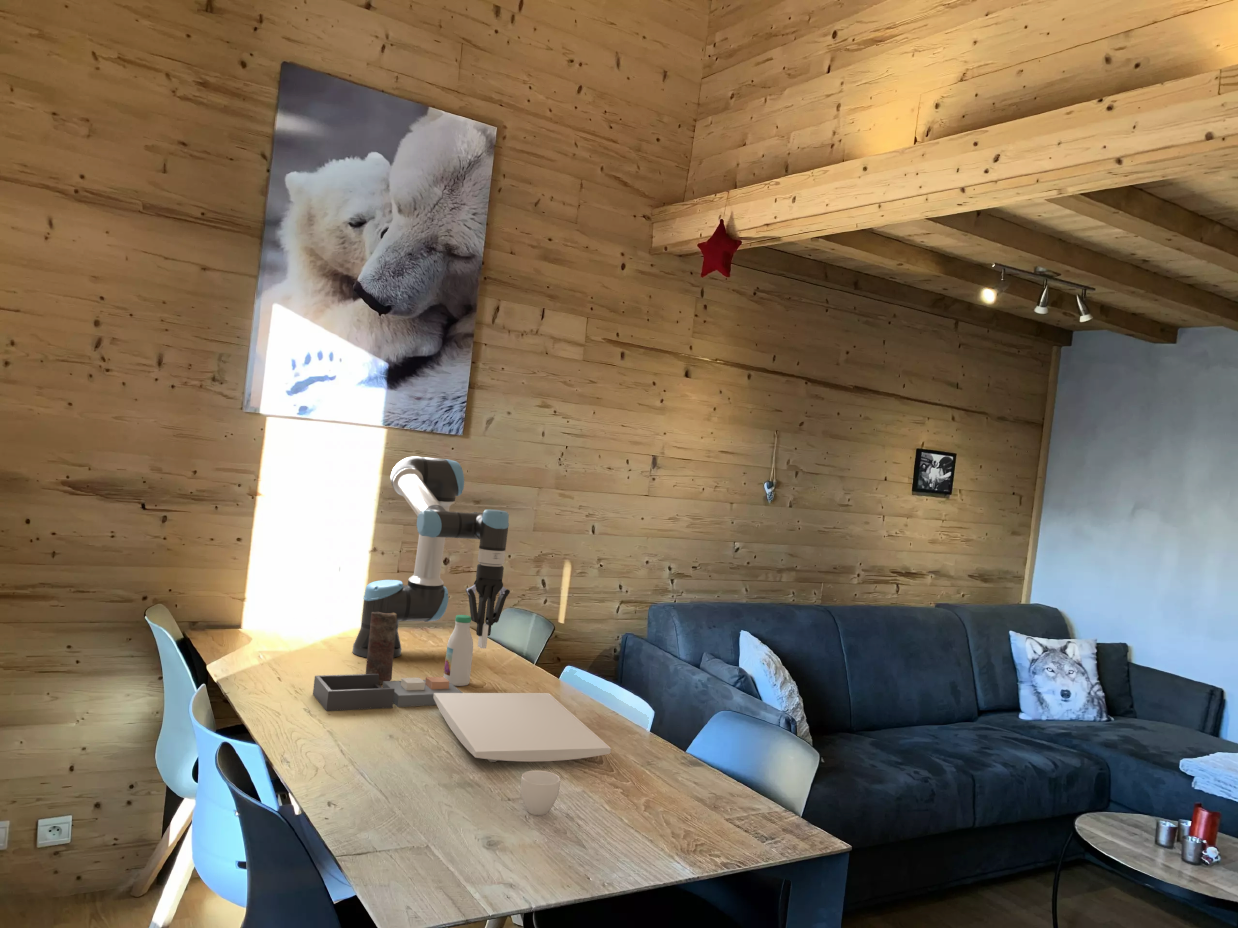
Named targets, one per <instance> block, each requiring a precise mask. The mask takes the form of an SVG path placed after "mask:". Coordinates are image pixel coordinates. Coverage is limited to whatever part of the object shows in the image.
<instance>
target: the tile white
mask: <svg viewBox="0 0 1238 928" xmlns="http://www.w3.org/2000/svg"><path fill="white" fill-rule="evenodd" d="M400 679H401V680H400V681H401V686H402V687H403V688H404V689H405V690H424V688H425V682H424V681H423V680H424V679H422V678H420V677H418V676H417V677H401V678H400Z"/></svg>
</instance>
